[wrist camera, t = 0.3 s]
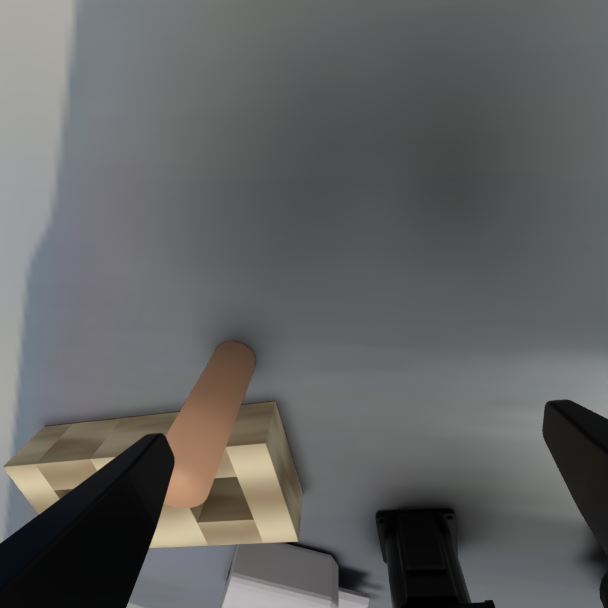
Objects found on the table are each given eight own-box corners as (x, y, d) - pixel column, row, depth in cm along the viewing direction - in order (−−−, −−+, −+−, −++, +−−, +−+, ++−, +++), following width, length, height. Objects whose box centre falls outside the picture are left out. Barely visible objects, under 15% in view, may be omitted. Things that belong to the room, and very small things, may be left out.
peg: (260, 374, 25) (217, 506, 16) (221, 379, 25) (157, 509, 16) (249, 338, 24) (196, 458, 15) (208, 344, 24) (132, 464, 15)
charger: (362, 612, 37) (226, 578, 37) (394, 564, 33) (242, 526, 33) (365, 673, 33) (211, 636, 32) (403, 627, 29) (228, 583, 28)
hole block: (302, 493, 30) (298, 541, 26) (97, 506, 33) (67, 551, 29) (275, 401, 26) (265, 443, 22) (44, 426, 29) (2, 467, 25)
